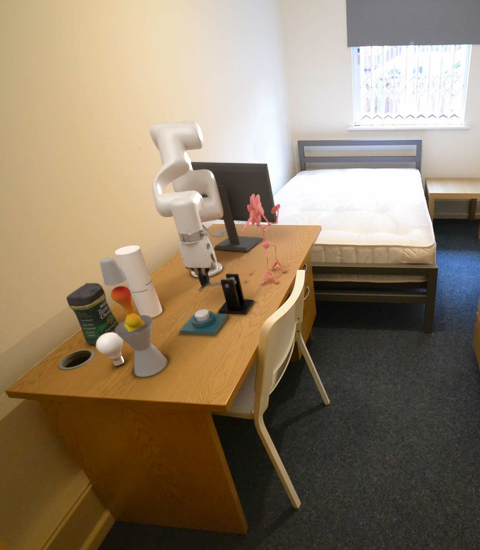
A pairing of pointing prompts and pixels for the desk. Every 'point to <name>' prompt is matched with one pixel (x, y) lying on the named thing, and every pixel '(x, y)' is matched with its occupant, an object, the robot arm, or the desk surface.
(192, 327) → the plate
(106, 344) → the lightbulb
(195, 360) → the desk surface
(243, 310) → the lever bracket
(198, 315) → the flush button
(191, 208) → the robot arm
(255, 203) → the figurine
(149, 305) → the cylindrical container
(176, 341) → the desk surface
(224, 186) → the computer monitor
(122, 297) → the lava lamp
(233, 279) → the flush lever
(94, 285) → the coffee jar
